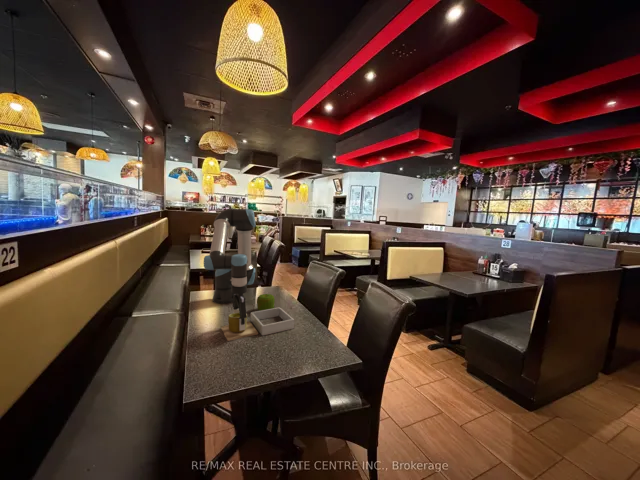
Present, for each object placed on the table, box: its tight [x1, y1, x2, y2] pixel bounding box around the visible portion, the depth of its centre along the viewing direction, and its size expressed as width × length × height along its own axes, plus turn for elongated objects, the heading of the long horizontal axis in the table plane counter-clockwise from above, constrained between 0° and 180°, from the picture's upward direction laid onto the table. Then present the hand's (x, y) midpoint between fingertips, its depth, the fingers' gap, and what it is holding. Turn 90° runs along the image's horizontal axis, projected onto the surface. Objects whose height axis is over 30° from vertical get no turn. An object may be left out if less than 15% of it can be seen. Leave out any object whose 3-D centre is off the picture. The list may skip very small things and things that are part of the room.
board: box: [220, 320, 259, 342], centre depth 134 cm, size 15×15×1 cm
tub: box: [250, 306, 295, 336], centre depth 143 cm, size 20×18×5 cm
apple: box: [256, 293, 276, 311], centre depth 163 cm, size 11×11×11 cm
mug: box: [227, 312, 248, 333], centre depth 134 cm, size 12×10×10 cm
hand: (239, 325), depth 134 cm, fingers closed on mug, 11 cm apart
